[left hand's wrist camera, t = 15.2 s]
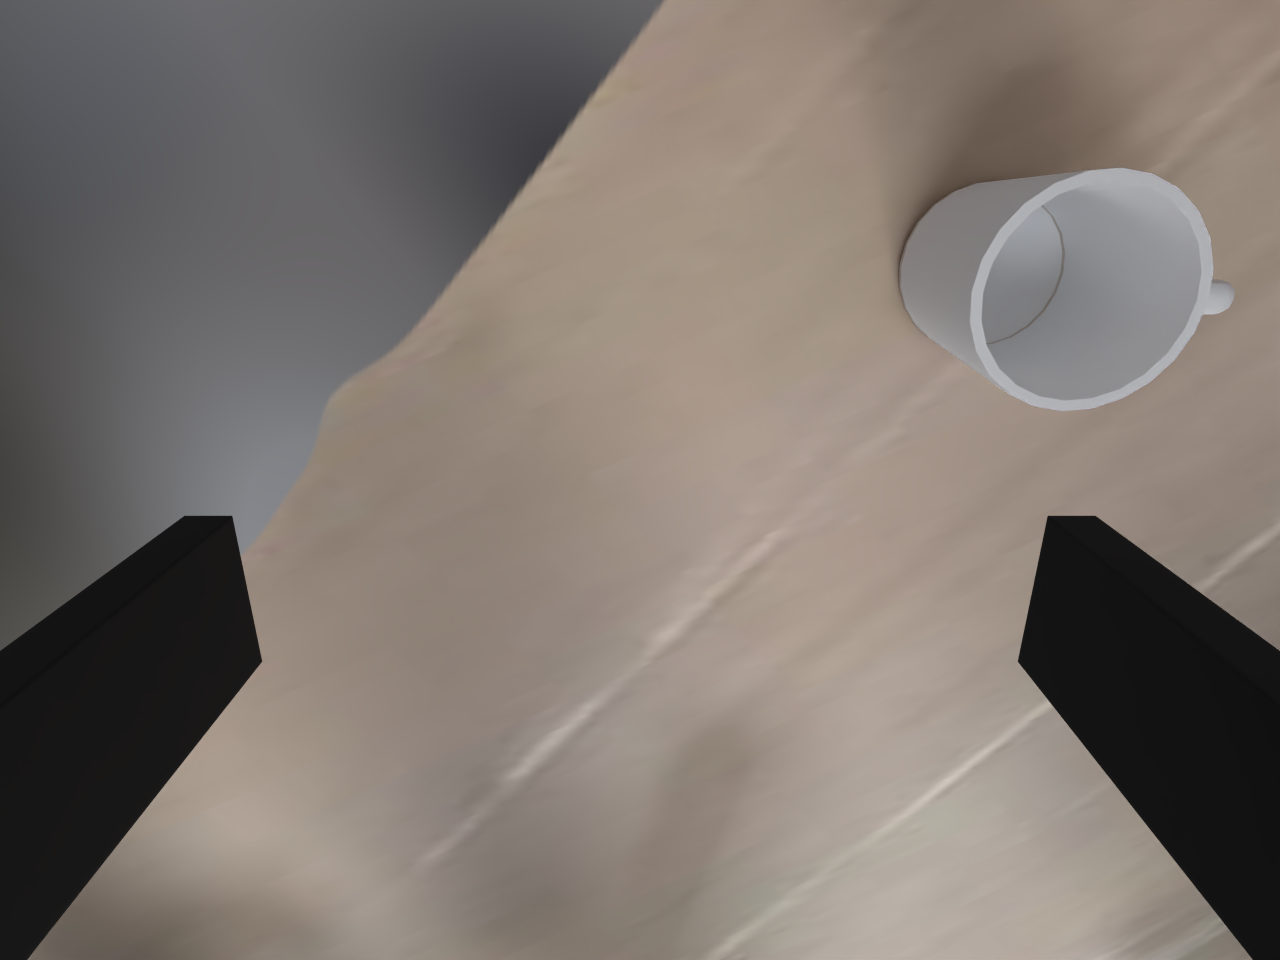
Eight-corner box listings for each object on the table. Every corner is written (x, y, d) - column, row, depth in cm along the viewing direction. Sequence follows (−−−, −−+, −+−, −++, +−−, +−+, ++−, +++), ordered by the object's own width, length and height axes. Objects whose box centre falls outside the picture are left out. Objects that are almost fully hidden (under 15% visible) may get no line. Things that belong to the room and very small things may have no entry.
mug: (875, 353, 40) (949, 406, 31) (903, 167, 37) (996, 162, 27) (1085, 361, 40) (1225, 417, 31) (1131, 177, 37) (1303, 175, 28)
